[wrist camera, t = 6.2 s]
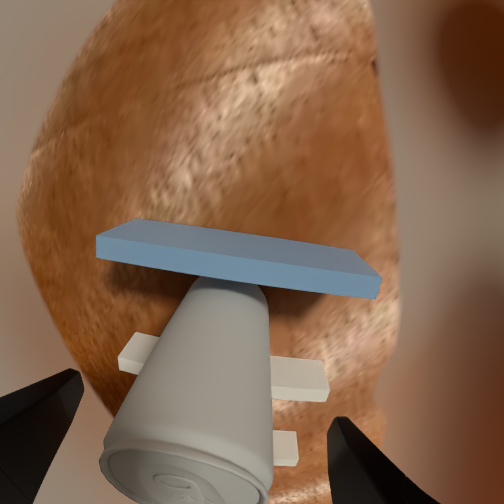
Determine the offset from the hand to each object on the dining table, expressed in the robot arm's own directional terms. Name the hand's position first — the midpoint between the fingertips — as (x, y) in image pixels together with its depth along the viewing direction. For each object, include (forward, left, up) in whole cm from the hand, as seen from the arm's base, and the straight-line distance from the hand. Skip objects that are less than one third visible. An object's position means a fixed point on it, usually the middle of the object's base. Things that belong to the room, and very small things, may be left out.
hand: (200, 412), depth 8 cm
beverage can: (0, 0, -9) cm, 9 cm away
